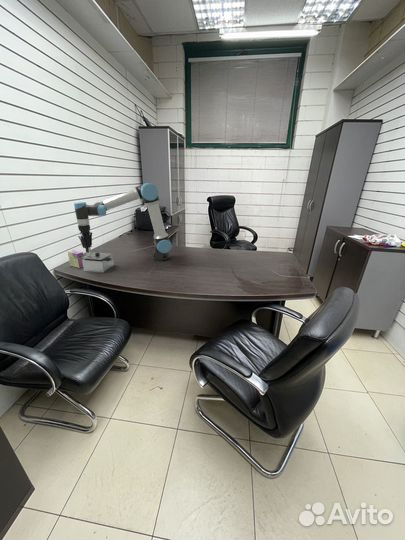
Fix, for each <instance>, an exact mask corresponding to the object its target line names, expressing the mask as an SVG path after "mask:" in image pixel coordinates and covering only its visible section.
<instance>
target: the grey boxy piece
mask: <svg viewBox="0 0 405 540" xmlns="http://www.w3.org/2000/svg"><path fill="white" fill-rule="evenodd" d="M113 255H114V254H112V255H111V256H109V257H107V258H105V259H103V260H96V259H83V260H82V263H83V267H82V268H83V271H84V272H90V273H91V272H92V273H100V274H101V273H102V274H103V273H106V272H107V271H108V270H110V269H111V268H113V267H114V266H115V264H114V262H115V261H114V256H113Z"/></svg>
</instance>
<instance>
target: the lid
mask: <svg viewBox="0 0 405 540" xmlns="http://www.w3.org/2000/svg"><path fill="white" fill-rule="evenodd" d="M111 255H113V253H108V252H94V251H93V252H91V256H87V254H86V255H84V256H83V257H82V258H83V259H96V260H103V259H105V258H107V257H109V256H111Z"/></svg>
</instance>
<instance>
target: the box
mask: <svg viewBox="0 0 405 540" xmlns="http://www.w3.org/2000/svg"><path fill="white" fill-rule="evenodd" d="M67 254H68V255H67V256H68V261H69V265H70V266H71V267H74V268H76V269H77V268H78V269H81V268H83V263H82V260H83V258H82V257H83V256H85V255H84V252H83V251H78V250H76V249H75V250H74V249H73V250H70V251H67Z"/></svg>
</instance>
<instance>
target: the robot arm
mask: <svg viewBox="0 0 405 540" xmlns="http://www.w3.org/2000/svg"><path fill="white" fill-rule="evenodd" d="M137 200H139V201H140V200H143V203H144V205H145V206H146V207H147V211H148V214H149V217H150V221H151V224H152V229H153V232H154V233H153V244H154V245H153V246H154V251H153V254H152V259H153V260H154V261H156V260H157V261H158V262H164V261H163V260H166V261H168V260H167V259H169V258H171V255H170V251H171V249H172V242H171V241H170V237H169V233H167V232H166V229H165V226H164V225H165V224H164V222H163V217H162V213H161V209H160V205H159V202H160V197H159V190H158V187H157V186H156V185H155V184H154V183H153V182H147V181H146V182H143V183H142V184H140V185H138V186H136V187H134V188H133V189H131V190H129V191H125V192H123V193H120V194H118V195H115V196H112V197H110V198H107V199H105V200H102V201H98V202H95V203H94V204H87V201H75V202H74V204H73V206H74V212H75V218H76V222H77V228H78V231H79V234H80V235H78V236H77V237H78V238H79V240H80V243H81V246H82V249H85V253H86V255H87V256H91V253H92V250H91V248H92V246H93V232H91V231H90V230H91V226H90V219H89V217H104V216H106V215H107V211H110V210H112V209H115V208H118V207H120V206H124V205H126V204H129V203H131V202H134V201H137ZM169 260H170V259H169Z"/></svg>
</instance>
